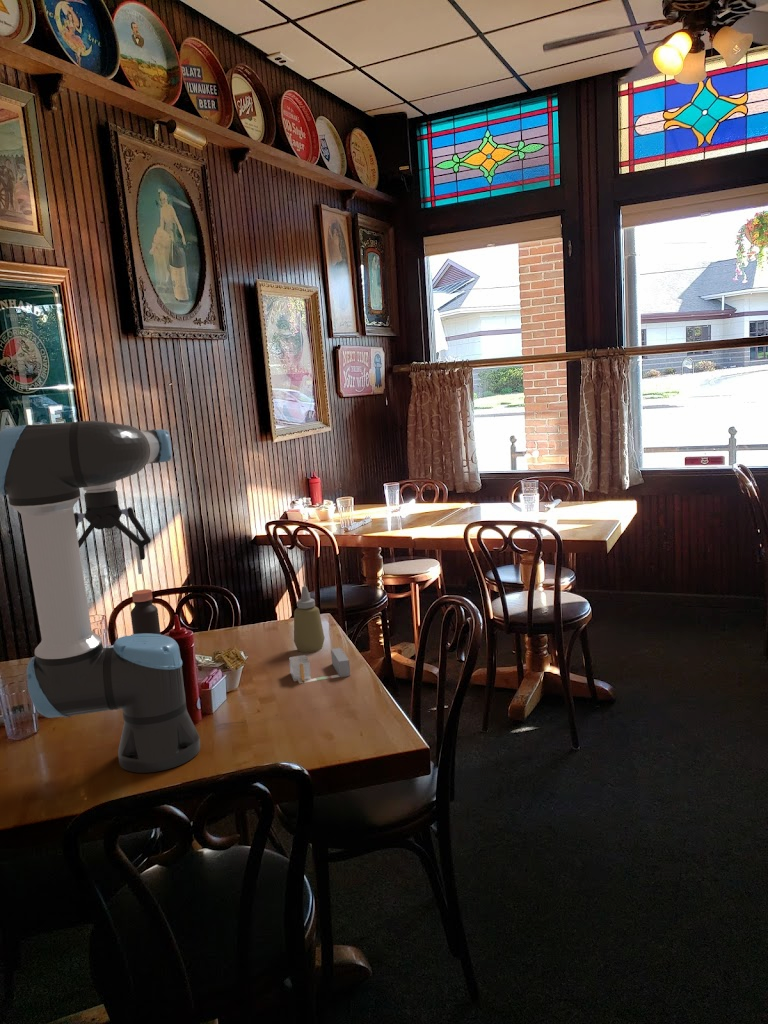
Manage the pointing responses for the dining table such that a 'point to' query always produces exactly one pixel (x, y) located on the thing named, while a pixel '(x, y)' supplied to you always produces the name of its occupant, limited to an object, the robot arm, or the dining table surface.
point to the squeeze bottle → (307, 624)
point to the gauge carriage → (300, 668)
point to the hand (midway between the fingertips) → (111, 576)
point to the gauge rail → (336, 665)
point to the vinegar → (144, 613)
